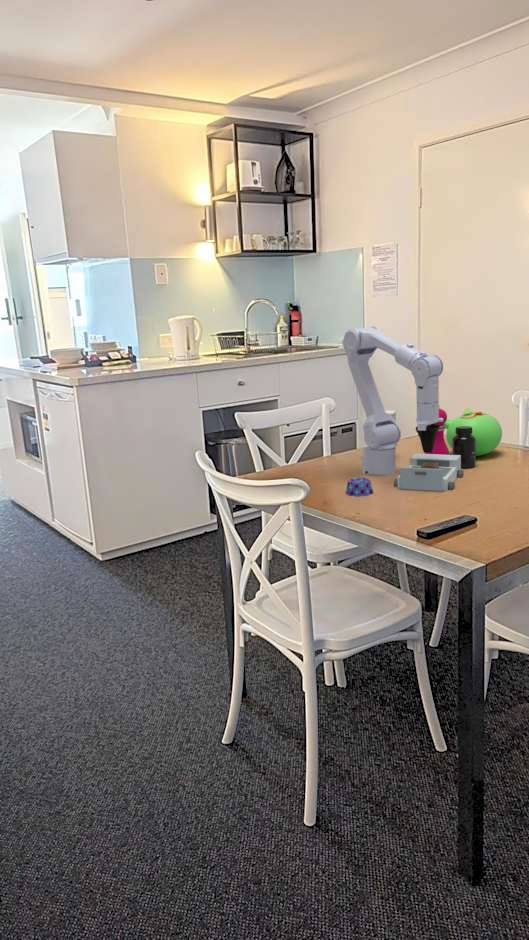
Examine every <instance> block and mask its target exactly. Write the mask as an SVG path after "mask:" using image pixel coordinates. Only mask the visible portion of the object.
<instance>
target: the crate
mask: <svg viewBox="0 0 529 940" xmlns="http://www.w3.org/2000/svg"><path fill="white" fill-rule="evenodd" d="M421 468H428V469H439V463H433V462H424V463H423V464H422V465H421Z"/></svg>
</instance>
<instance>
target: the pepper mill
mask: <svg viewBox="0 0 529 940" xmlns="http://www.w3.org/2000/svg"><path fill="white" fill-rule="evenodd" d="M440 407H441V405H440V404H439V418H443V421H442V422H436V423H433V424H439V425H440V428H439V430H438V432H437V434H436V438H435V443H434V448H433V451H432V452H431V453H424V454H440V455H450V451H449V448H448V446H447V444H446V442H445V441H446V440H445V438H444V434H445V433H444V432H445V431H446V428H445V424H444V423H445V422H446V420H448V413H447V412H446V410H444V409H442V408H440Z"/></svg>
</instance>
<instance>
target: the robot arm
mask: <svg viewBox="0 0 529 940" xmlns="http://www.w3.org/2000/svg"><path fill="white" fill-rule="evenodd" d="M342 346H343V347H344V348H343V349H344V351H345V354H346V357H347V363H348V366H349V370H350V372H351V373H350V374H351V376H352V379H353V381H354V384H355V386H356V390H357V393H358V396H359V399H360V401H361V404H362V407H363V409H364V410H363V411H364V412H365V416H366V420H365V422H364V423H363V425H362V430H363V439H364V442H365V444H366V445H367V446H365V447H364V448H363V450H362V452H361V453H362V454H361V466H362V467H361V469H362V473H361V474H363V475H375V476H390V475H393V474H396V472H397V459H396V457H397V456H396V455H397V453H396V452H395V446H396V447H397V446H398V443H399V442H400V440H401V438H402V437H401V436H402V431H401V428H400V427H399V425H398V424H397V422H396V423H395V421H394V418H393V417H392V416H391V415H389V414H387V413H386V412H385V410H386V409H385V408H384V405H383V403H382V402H383V401H382V399H381V397H380V392H379V391H378V387H377V385H376V382H375V380H374V376H373V374H372V371H371V369H370V366H369V361H370V359H371V358H372V357H373V355H374V354H375V352H376V351H377V349H378V350H381V351H383V352H385V353H386V354H389V355H392V356H393V357H394V360H395V363H396V364H398V365H400V366H401V367H404V369H407V370H409V371H410V372H411V374H412V376H413V378H414V384H415V386H416V418H415V423H417V426H415V431H416V433H417V435H418V437H419V440H420V443H421V449H422V451H423V452H422V453H423V454H425V453H431V452H432V451H433V448H434V443H435V438H436V434H437V432H438V430H439V428H440V425H439V424H433V423H436V422H442V421H443V418H439V409H440V407H439V405H440V403H439V401H440V398H439V397H440V395H439V394H440V391H439V388H440V387H439V385H440V384H439V379H440V378H439V377H440V376H441V375H442V374H443V372H444V362H443V360H442V359H441V358H440V357H439V356H438V355H437V354H432V355H428V354H427V352H425V351H421V350H419V349H417V348H416V347H414V346H415V344H413V343H404V344H400V343H398V342H397V341H395V340H394V339H393V338H392V337H389V336H388V335H386V334H385V333H384V332H383V330H382V329H380V328H377V327H376V326H370V327H363V328H362V327H361V328H349V329H347V330H346V331H345V333H344V336H343V339H342ZM378 425H379V426H378Z"/></svg>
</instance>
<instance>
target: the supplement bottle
mask: <svg viewBox="0 0 529 940" xmlns="http://www.w3.org/2000/svg"><path fill="white" fill-rule="evenodd" d="M455 433H456V436H454V437H453V439H452V448H451V451H452V452H451V455H461V469H471V468H474V467H475V466H476V458H477V456H476V439H475V437H474V436H473V435H472V433H473V432H472V427H470V426H459V427H456V432H455Z"/></svg>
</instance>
